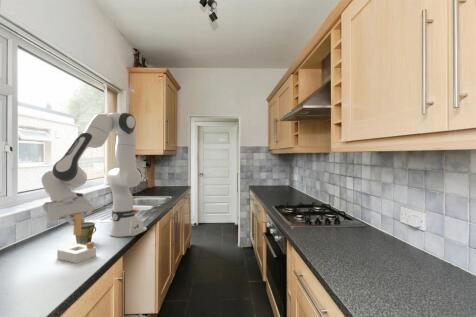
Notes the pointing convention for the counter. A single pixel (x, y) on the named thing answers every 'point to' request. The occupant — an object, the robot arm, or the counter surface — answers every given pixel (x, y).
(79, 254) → the housing
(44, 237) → the counter surface
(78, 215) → the pin
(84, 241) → the ceramic cup
